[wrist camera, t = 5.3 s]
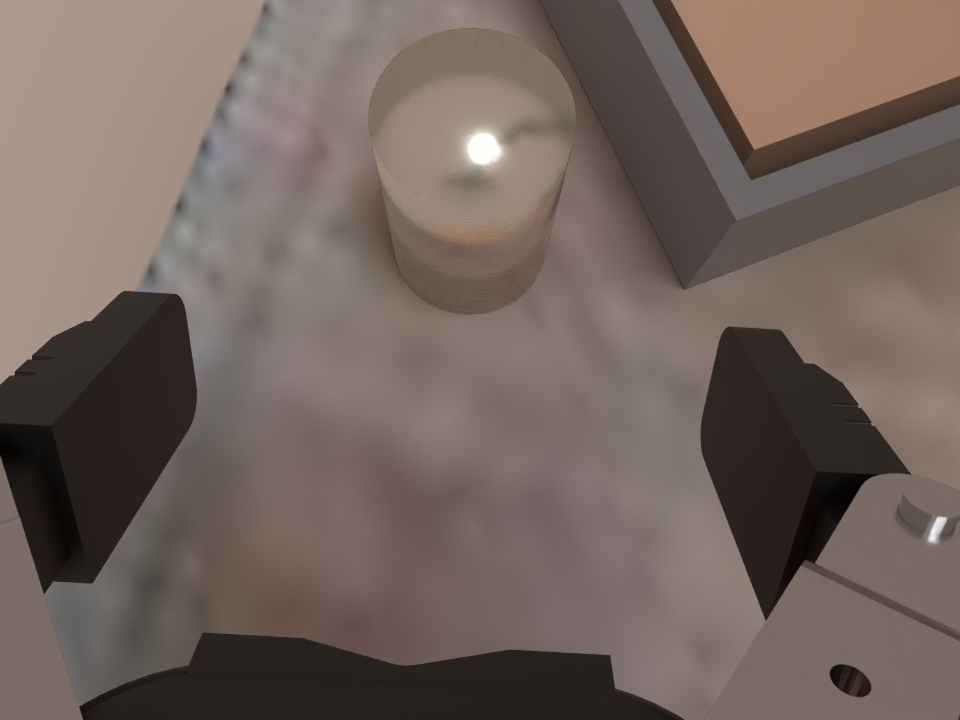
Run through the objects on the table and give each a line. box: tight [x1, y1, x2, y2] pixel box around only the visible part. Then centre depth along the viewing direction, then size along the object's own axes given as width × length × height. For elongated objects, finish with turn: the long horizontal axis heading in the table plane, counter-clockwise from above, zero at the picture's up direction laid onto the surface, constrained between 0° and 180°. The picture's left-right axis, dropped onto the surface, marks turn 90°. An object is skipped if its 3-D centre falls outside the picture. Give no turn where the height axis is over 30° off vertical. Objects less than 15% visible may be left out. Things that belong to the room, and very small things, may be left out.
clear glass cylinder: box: [369, 28, 576, 314], centre depth 24 cm, size 6×6×8 cm
